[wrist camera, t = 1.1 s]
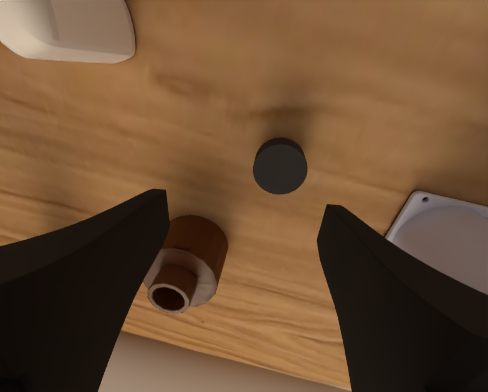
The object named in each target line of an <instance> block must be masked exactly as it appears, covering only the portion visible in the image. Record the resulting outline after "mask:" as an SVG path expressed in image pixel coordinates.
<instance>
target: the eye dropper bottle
mask: <svg viewBox="0 0 488 392" xmlns="http://www.w3.org/2000/svg"><path fill="white" fill-rule="evenodd" d="M0 42H2V43H3V44H4V45H5V46H7V47H8V48H9V49H10V50H12V51H13V52H15V53H17V54H18V55H20V56H22V57H26V58H31V59H43V60H58V61H75V62H93V63H112V64H114V63H118V62H121V61H124V60H127V59H130V58H131V57H132V56H133V55H134V53H135V36H134V29H133V24H132V20H131V17H130V13H129V10H128V8H127V5H126V3H125V0H0Z"/></svg>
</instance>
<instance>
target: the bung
mask: <svg viewBox="0 0 488 392" xmlns="http://www.w3.org/2000/svg"><path fill="white" fill-rule="evenodd" d="M253 174H254V178H255V180H256V182H257V183H258V185H259V186H260V187H261V188H262V189H264V190H265V191H267V192H269V193H272V194H287V193H290V192H292V191H294V190H296V189H297V188H299V187H300V186H301V184H302V183H303V182H304V180H305V178H306V175H307V162H306V159H305V156H304V153H303V151H302V149H301V147H300V146H299V145H298V144H297V143H295V142H294V141H292V140H290V139H287V138H275V139H271V140H269V141H267V142H266V143H264V144H263V145H262V146H261V147H260V148H259V150H258V152H257V154H256V157H255V161H254V165H253Z"/></svg>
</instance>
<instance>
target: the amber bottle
mask: <svg viewBox="0 0 488 392" xmlns="http://www.w3.org/2000/svg"><path fill="white" fill-rule="evenodd" d="M227 249H228V244H227V240H226V237H225V235H224V233H223V232H222V230H221V229H220V228H219V227H218V226H217V225H216V224H214V223H213V222H211V221H209V220H207V219H205V218H202V217H199V216H192V215H188V216H181V217H178V218H176V219H174V220H173V221H171V222H170V228H169V231H168V234H167V237H166V239H165V242H164V244H163V246H162V248H161V250H160V252H159V254H158V255H157V257H156V259H155V261H154V263H153V264H152V266H151V268H150V270H149V271H148V273H147V275H146V277H145V278H144V280H143V282H144V284H145V286H146V287H147V288H148V299H149V300H150V302H151V303H152V305H153V306H155V307H156V308H158V309H159V310H161V311H163V312H167V313H171V314H177V313H183V312H184V311H186V310H187V309H188V308H189V306H198V305H201V304H204V303H206V302H208V301H209V300H210V299H211V298H212V297H213V296H214V295H215V293H216V290H217V286H218V283H219V279H220V276H221V272H222V269H223V265H224V262H225V258H226V254H227Z"/></svg>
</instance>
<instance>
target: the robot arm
mask: <svg viewBox="0 0 488 392" xmlns="http://www.w3.org/2000/svg"><path fill="white" fill-rule="evenodd" d="M424 197H426V199H425V200H422V199H423V198H424ZM169 228H170V221H169V212H168V203H167V194H166V190H161V189H151V190H148V191H146V192H143V193H141V194H139V195H137V196H135V197H133V198H131V199H129V200H127V201H125V202H123V203H121V204H119V205H117V206H115V207H113V208H111V209H108V210H106V211H104V212H102V213H100V214H97V215H95V216H93V217H91V218H88V219H86V220H83V221H81V222H78V223H76V224H73V225H70V226H67V227H65V228H62V229H59V230H56V231H53V232H50V233H46V234H43V235H40V236H36V237H33V238H30V239H26V240H23V241H19V242H15V243H11V244H8V245H4V246H0V392H98V389H99V386H100V384H101V381H102V378H103V375H104V372H105V369H106V367H107V364H108V361H109V359H110V356H111V354H112V351H113V348H114V345H115V343H116V340H117V338H118V335H119V333H120V331H121V328H122V326H123V323H124V321H125V318H126V316H127V314H128V311H129V309H130V307H131V304H132V302H133V300H134V297H135V295H136V293H137V291H138V289H139V287H140V286H141V284H142V282H143V280H144V278H145V277H146V275H147V273H148V271H149V270H150V268H151V266H152V264H153V263H154V261H155V259H156V257H157V255H158V254H159V252H160V250H161V248H162V246H163V244H164V242H165V239H166V237H167V234H168V231H169ZM317 245H318V251H319V257H320V261H321V265H322V268H323V271H324V274H325V277H326V280H327V284H328V287H329V290H330V293H331V296H332V299H333V302H334V305H335V309H336V312H337V316H338V320H339V325H340V330H341V334H342V339H343V344H344V349H345V355H346V360H347V365H348V371H349V377H350V383H351V389H352V392H488V206H483V205H479V204H475V203H470V202H466V201H462V200H457V199H453V198H449V197H444V196H440V195H436V194H431V193H427V192H423V191H415V192H414V193H412V194H411V196H410V197H409V199H408V201H407V202H406V204H405V206H404V207H403V209H402V210H401V212H400V214H399V215H398V217H397V219H396V220H395V222H394V223H393V225H392V227H391V228H390V230H389V232H388V233H387V235H386V236H385V238H384V237H383V236H382V235H380V234H379V233H378V232H376V231H375V230H373V229H372V228H371V227H369V226H368V225H367V224H366V223H364V222H363V221H362V220H360V219H359V218H358V217H356V216H355V215H354V214H352V213H351V212H350V211H348V210H347V209H346V208H344V207H343V206H341V205H330V204H327V205H326V209H325V213H324V216H323V220H322V223H321V227H320V230H319V234H318V238H317Z"/></svg>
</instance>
